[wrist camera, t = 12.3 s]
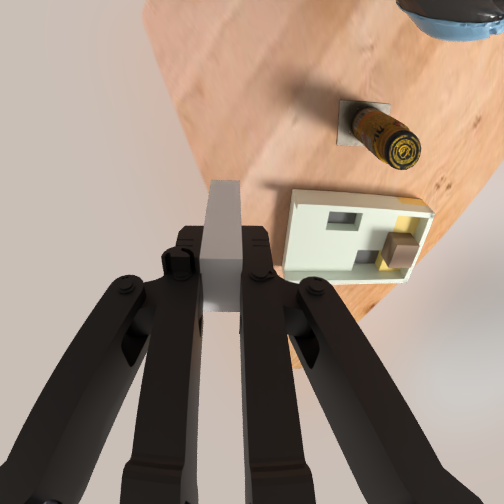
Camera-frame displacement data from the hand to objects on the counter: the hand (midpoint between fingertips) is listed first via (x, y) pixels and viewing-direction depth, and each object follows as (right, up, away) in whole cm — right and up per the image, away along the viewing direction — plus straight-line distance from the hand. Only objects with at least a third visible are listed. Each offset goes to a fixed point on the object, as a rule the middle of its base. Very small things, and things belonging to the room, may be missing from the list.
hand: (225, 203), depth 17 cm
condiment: (+18, +17, +26) cm, 36 cm away
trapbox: (+20, +1, +38) cm, 43 cm away
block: (+28, -1, +36) cm, 46 cm away
